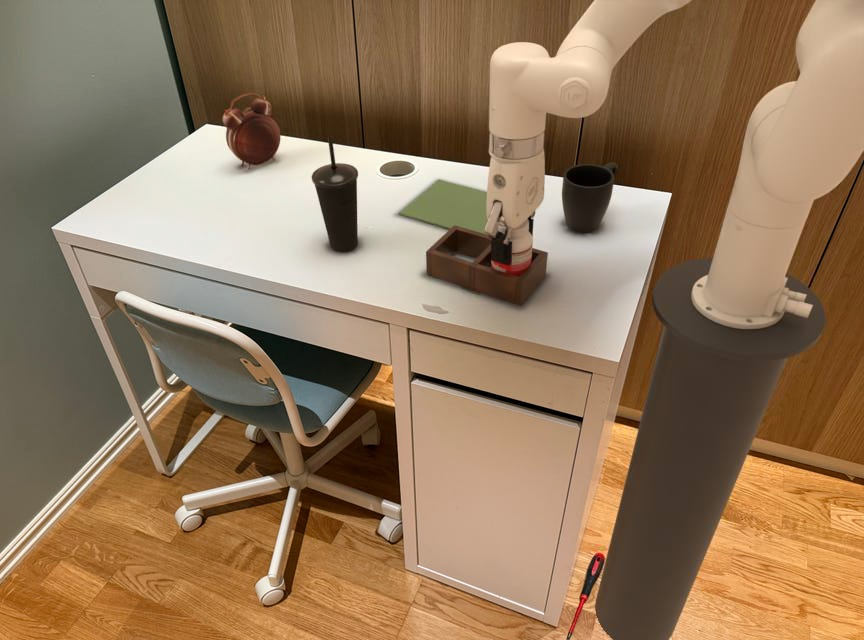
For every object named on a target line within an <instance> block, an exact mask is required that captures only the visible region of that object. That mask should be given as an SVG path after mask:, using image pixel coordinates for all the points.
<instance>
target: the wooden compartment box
mask: <svg viewBox="0 0 864 640" xmlns="http://www.w3.org/2000/svg"><path fill="white" fill-rule="evenodd" d="M456 253H459V254H462V255H465V256H468V257H472V258H475V259H474V260H473V262H472V261H469V260H467V259H464V258H460V257H456V256H454V255H455V254H456ZM548 256H549V252H548V251H544V250H541V249H538V248H535V247H532V261H531V264H530V265H529V266H528V267H527V269H526V270H525V271H524V272H523V273H522V274H521V275H520V276H519V277H517V276H514V275H511V274H508V273H505V272H501V271H498V270H495V269H492V268H491V261H492V260H491V240H490V238H489V237H488V236H487V235H486V234H483V233H480V232H476V231H473V230H470V229H466V228H463V227H459V226H456V225H454V226H453V227H452V228H451V229H448V230H447V232H445V233H444V234H443V235H441V237H439V239H438V240H437V241H435V242H434V244H432V245H431V246H430V247H429V248H428V249H427V250H426V251H425V263H426V264H425V265H426V275H428V276H430V277H433V278H436V279H439V280H442V281H446V282H448V283H452V284H455V285H458V286H460V287H463V288H467V289H469V290H472V291H474V292H478V293H481V294H484V295H487V296H489V297H493V298H496V299H499V300H502V301H505V302H508V303H511V304H514V305H517V306H522V304H523V303H524V302H525V301H526V299H528V297H529V296H530V295H531V294H532V292H533V291H534V290H535V289H536V288H537V287H538V286H539V284H540V283H541V282H542V281H543V280H544V278H546V276H547V269H548V267H547V266H548V258H549V257H548Z"/></svg>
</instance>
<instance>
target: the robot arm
mask: <svg viewBox="0 0 864 640" xmlns="http://www.w3.org/2000/svg"><path fill="white" fill-rule="evenodd" d="M690 2H692V0H593V1H592V3H591V4H590V5H589V6H588V8H587V9H586V11H585V12H584V13H583V14H582V15H581V17H580V18H579V20H578V21H577V22H576V23H575V25H574V26H573V28H571V30H570V31H569V33H568V34H567V35H566V37H565V38H564V40H562V43H561V44H560V46H559V47H558V50H557V52H556V54H555V56H553V57H551V56H550V55H549V51H548V50H547V49H546V48H545V47H544V46H542V45H540V44H537V43H534V42H526V41H522V42H521V41H518V42H517V41H516V42H510V43H507V44H503V45H501V46H499V47H498V48H497V49H495V50H494V52H493V53H492V55H491V57H490V61H489V101H488V102H489V105H488V106H489V107H488V109H489V110H488V111H489V113H488V115H489V116H488V154H489V156H490V159H489V168H488V175H487V176H488V177H487V188H486V192H487V204H486V210H487V219H488V222H487V225H486V228H485V231H484V233H485V234H486V235H487V236H488V237H489V238H490V240H491V260H492V261H495V262H498V263H501V264H505V265H510V264H511V262H512V242H511V241H510V237H511V233H512V228H513V229H515V228H517V227H519V226H520V225H521V224H522V223H523V222H524V221H525V220H526V219H528V220H529V230H528V231H529V232H530V233H531V235H532V238H533V239H534V222H535V221H534V218H535V216H536V210H537V209H538V208H539V207H540V206H541V205H542V203H543V201H544V198H545V184H546V182H545V181H546V180H545V179H546V178H545V177H546V162H545V161H546V160H545V137H546V135H545V134H546V123H547V122H546V121H547V114H551V115H554V116H558V117H562V118H568V119H582V118H586V117H589V116H591V115H593V114H595V113H596V112H597V111H598V110H599V109H600V108H601V107H602V106H603V104H604V103H605V100H606V98H607V96H608V93H609V88H610V83H611V77H612V73H613V69H614V68H615V66H616V65H617V63H618V62H619V61H620V60H621V59H622V57H623V56H624V55H625V53H627V51H629V49H630V48H631V47H632V46H633V44H635V42H636V41H637V40H638V39H639V37H640V36H642V34H643V33H644V32H645V31H646V30H647V29H648V28H649V27H650V26H651V25H652V24H653V23H655V21H657V20H658V19H659V18H661V17H662V16H664V15H666V14H668V13H669V12H673V11H675V10H676V11H677V10H679V9H681V8H683V7H685V6H686V5H687V4H689V3H690ZM795 58H796V62H797V65H798V70H799V76H798V78H797V80H794V81H793V80H792V81H789V82H785V83H782V84H780V85H778V86H776V87H774V88H773V89H771V90H770V91H769V92H767V93H766V94H765V95H764V96H763V97H762V98H761V99H760V100H759V101H758V103H757V104H756V105H755V106H754V108H753V110H752V112H751V115H750V116H749V120H748V121H747V126H746V129H745V134H744V139H743V143H742V149H741V154H740V160H739V163H738V169H737V172H736V176H735V180H734V184H733V187H732V190H731V194H730V197H729V202H728V203H727V208H726V210H725V211H726V212H725V215H724V219H723V221H722V225H721V229H720V232H719V236H718V240H717V242H716V245H715V246H716V247H715V251H714V253H713V256H712V257H713V260H712V264H711V267H710V271H709V274H708V275H707V276H704V277H702V278H701V279H699V280H698V281H697V282H696V283H695V284H694V286H693V289H692V293H691V300H692V302H693V305H694V306H695V308H696V309H697V310H698V311H699V312H700V313H701V314H702V315H704V316H705V317H707V318H708V319H710V320H712V321H714V322H716V323H718V324H721V325H724V326H728V327H732V328H737V329H761V328H765V327H769V326H771V325H773V324H775V323H777V322H778V321H779V320H780V319H781V318H782V317H783V315H784V312H785V311H786V312H789V313H793V314H794V315H798V316H801V317H805V318H808V316H809V314H810V311H811V309H812V306H813V305H811V304H807V303H804V300H805V298H806V294H802V293H798V292H793V291H789V288H786V287H785V285H786V282H787V279H788V278H787V277H785V275H786V273H787V272H788V270H789V267H790V265H791V262H792V259H793V256H794V254H795V251H796V249H797V245H798V243H799V240H800V238H801V235H802V232H803V230H804V227H805V224H806V221H807V220H808V217H809V214H810V212H811V209H812V208H813V207H812V206H813V204H814V201H816V200H817V199H819V198H822V197H823V196H825V195H826V194H829V193H830V192H831V191H832V190H834V189H835V188H836V187H838V185H839V184H840V183H842V182H843V181H844V179H845V178H846V177H847V176H848V175H849V173H850V172H851V171H852V169H853V168H854V166H855V165H856V163H857V162H858V160H859V158H860V157H861V156H862V154H863V152H864V0H815V1H814V3H813V5H812V6H811V9H810V10H809V12H808V14H807V16H806V17H805V19H804V21H803V23H802V25H801V26H800V29H799V31H798V34H797V37H796V41H795ZM501 217H504V220H505V221H504V220H500V219H501ZM499 225H501V226H505V227H506V230H505V235H504V234H503V233H502V232H499V230H498V227H499Z"/></svg>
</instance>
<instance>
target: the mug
mask: <svg viewBox="0 0 864 640" xmlns="http://www.w3.org/2000/svg"><path fill="white" fill-rule="evenodd" d="M618 169H619V166H618V164H617V163H616V162H608V163H607V164H604V166H602V165H599V164H591V163H585V164H577V165H573V166H571V167H569V168H566V170H565V171H564V173H563V177H562V187H561V203H562V210H563V211H562V212H563V216H564V220H565V225H566V227H567V229H568V230H569V231H571V232H574V233H578V234H591V233H594V232H596V231H597V230H598V229H599V227H600V224H601V222H602V221H603V218H604V217H605V214H606V213H607V211H608V208H609V206H610V203H611V200H612V195H613V190H614V183H615V180H616V177H617V174H618Z"/></svg>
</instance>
